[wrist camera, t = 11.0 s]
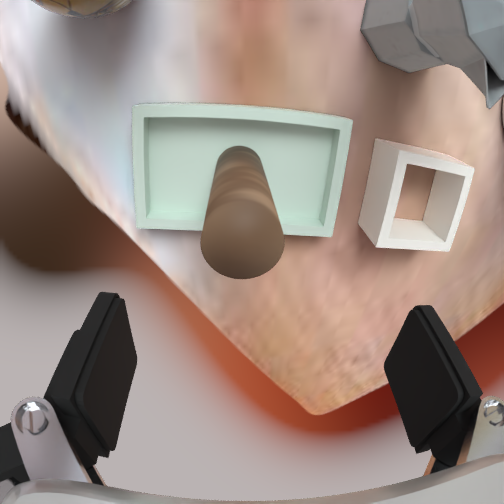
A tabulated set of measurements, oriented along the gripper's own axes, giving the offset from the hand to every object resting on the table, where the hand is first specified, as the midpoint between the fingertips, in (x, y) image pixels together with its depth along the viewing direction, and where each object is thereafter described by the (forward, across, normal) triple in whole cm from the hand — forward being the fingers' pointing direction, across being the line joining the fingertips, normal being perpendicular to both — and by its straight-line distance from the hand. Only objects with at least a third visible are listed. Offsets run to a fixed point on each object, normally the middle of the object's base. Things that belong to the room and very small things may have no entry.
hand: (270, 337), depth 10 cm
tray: (+21, +1, 0) cm, 21 cm away
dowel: (+20, +1, 0) cm, 20 cm away
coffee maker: (+22, -13, -16) cm, 30 cm away
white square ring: (+22, -16, +1) cm, 27 cm away
